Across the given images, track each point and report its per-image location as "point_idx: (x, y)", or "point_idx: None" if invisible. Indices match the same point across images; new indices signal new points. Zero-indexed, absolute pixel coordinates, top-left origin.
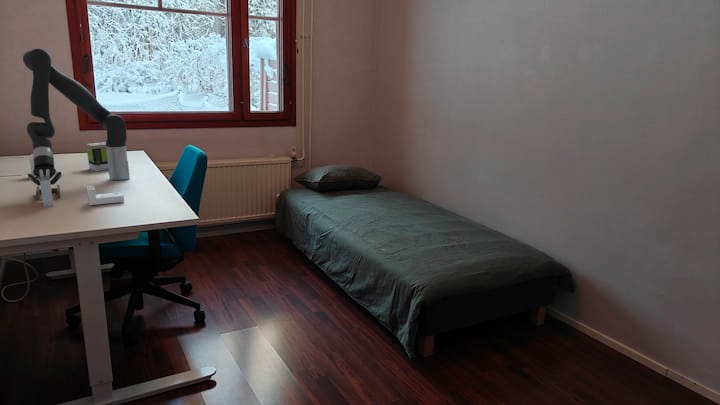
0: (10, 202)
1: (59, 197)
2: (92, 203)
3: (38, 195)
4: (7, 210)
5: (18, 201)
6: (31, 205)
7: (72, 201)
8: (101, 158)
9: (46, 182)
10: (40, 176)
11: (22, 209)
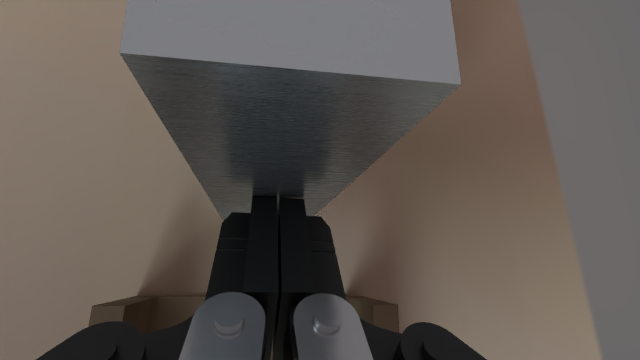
0: (566, 319)
1: (141, 296)
2: None
3: (361, 302)
4: (525, 53)
5: (513, 332)
6: None
7: (48, 89)
8: None
9: None
10: (433, 47)
11: None
